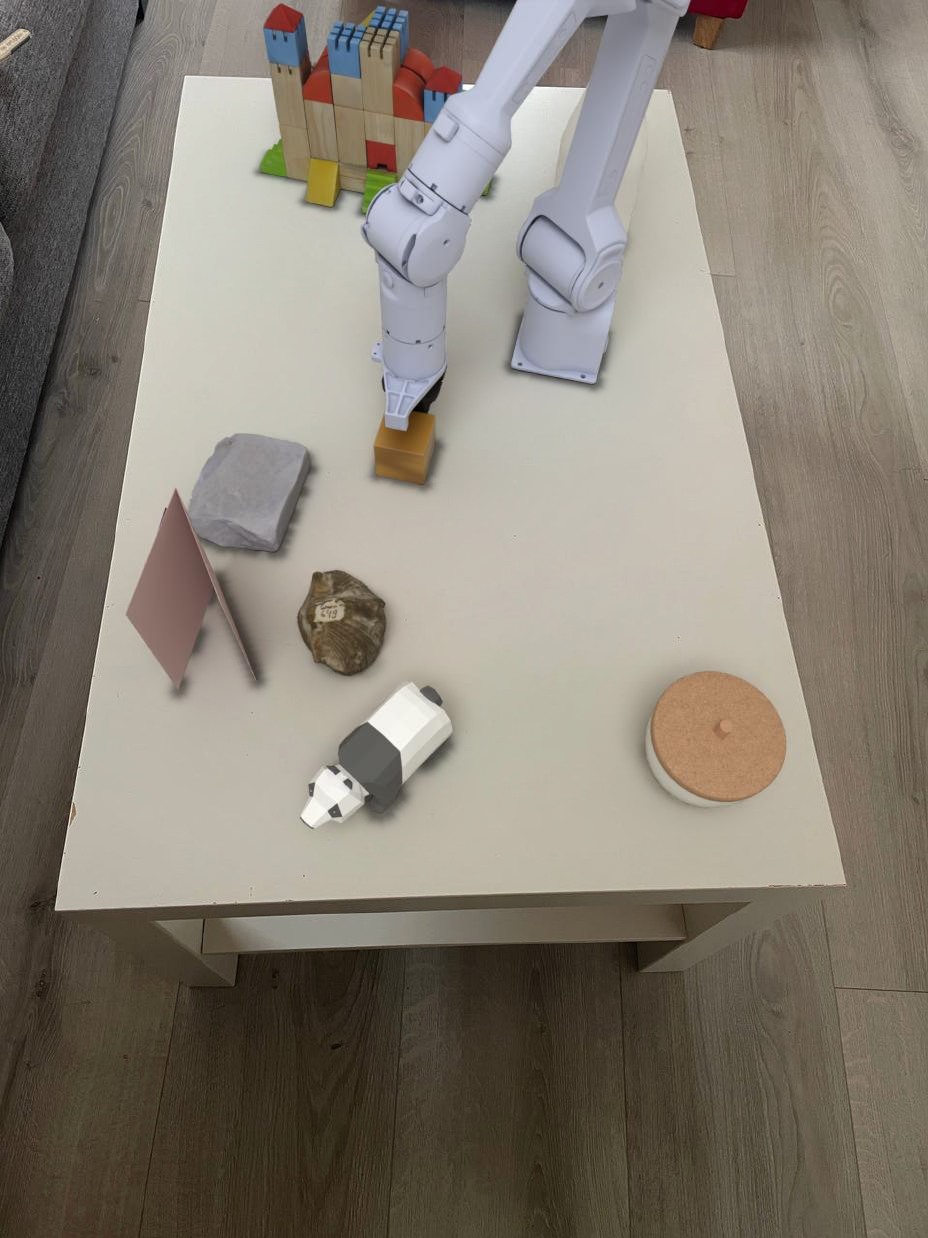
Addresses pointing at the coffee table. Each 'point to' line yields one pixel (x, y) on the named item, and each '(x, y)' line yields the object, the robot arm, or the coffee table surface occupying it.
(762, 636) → the coffee table surface
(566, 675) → the coffee table surface
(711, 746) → the trinket box
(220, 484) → the stone block
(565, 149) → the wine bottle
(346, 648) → the fossilized seashell
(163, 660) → the greeting card
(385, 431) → the ochre block
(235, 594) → the coffee table surface
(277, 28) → the block set
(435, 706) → the giant panda
